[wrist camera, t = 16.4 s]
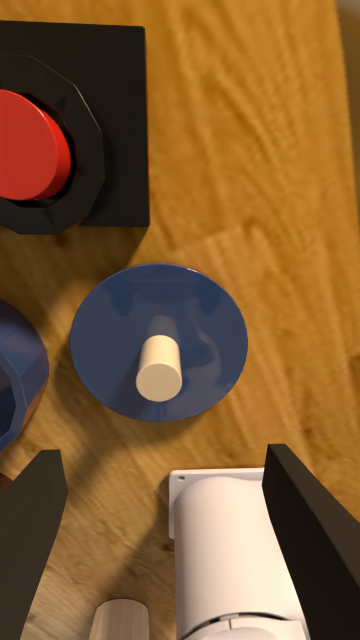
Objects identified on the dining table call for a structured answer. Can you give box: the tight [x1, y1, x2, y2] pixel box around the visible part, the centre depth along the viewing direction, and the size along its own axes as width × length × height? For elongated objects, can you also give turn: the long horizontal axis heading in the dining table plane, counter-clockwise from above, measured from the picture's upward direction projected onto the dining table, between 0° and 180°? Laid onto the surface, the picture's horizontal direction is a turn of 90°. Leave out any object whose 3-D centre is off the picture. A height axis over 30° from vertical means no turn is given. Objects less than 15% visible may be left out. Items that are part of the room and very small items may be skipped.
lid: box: [70, 262, 248, 422], centre depth 17 cm, size 11×11×4 cm
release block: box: [0, 20, 151, 235], centre depth 13 cm, size 10×8×3 cm
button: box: [0, 90, 71, 200], centre depth 12 cm, size 4×4×2 cm
